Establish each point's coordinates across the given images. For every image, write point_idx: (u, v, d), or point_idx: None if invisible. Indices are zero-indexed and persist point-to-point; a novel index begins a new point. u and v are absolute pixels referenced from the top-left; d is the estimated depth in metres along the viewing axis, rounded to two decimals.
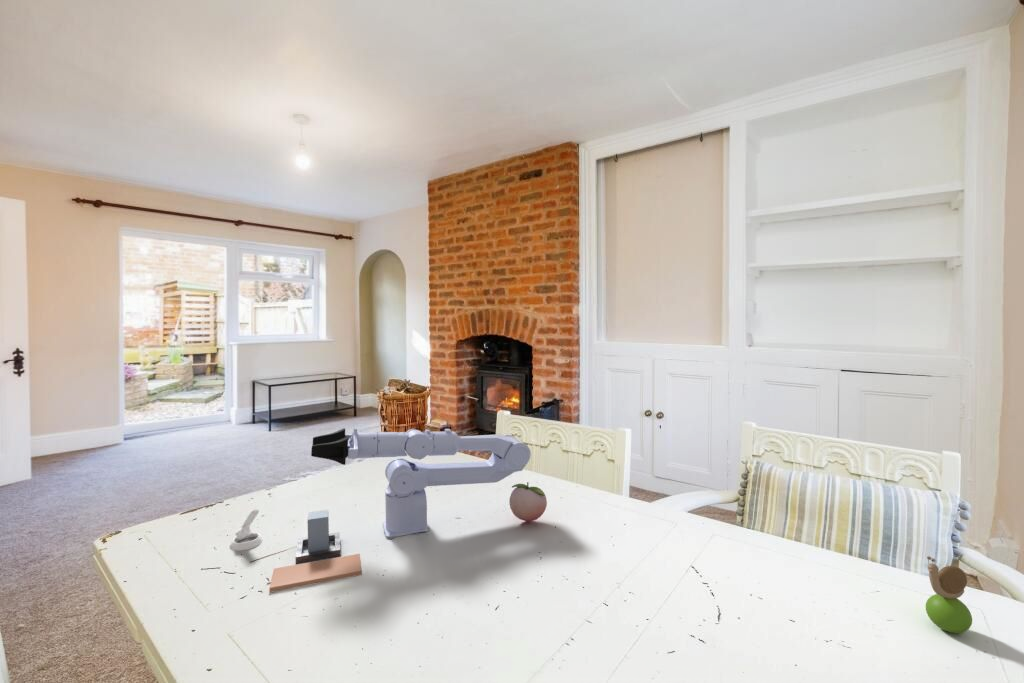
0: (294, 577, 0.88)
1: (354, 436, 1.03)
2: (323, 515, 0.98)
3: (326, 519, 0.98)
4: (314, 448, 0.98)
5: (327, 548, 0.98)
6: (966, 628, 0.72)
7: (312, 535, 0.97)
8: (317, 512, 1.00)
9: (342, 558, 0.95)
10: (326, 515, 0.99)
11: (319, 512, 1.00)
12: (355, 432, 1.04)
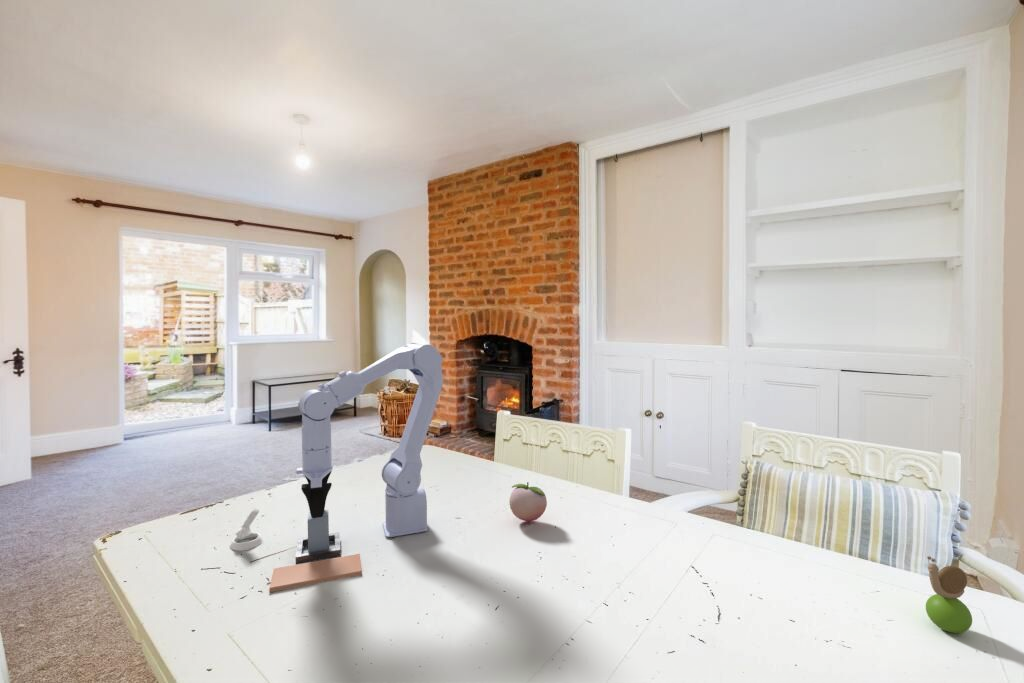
0: (294, 577, 0.88)
1: (303, 474, 0.96)
2: (323, 515, 0.98)
3: (326, 519, 0.98)
4: (313, 515, 0.95)
5: (327, 548, 0.98)
6: (966, 628, 0.72)
7: (312, 535, 0.97)
8: None
9: (342, 558, 0.95)
10: (326, 515, 0.99)
11: None
12: (300, 472, 0.96)
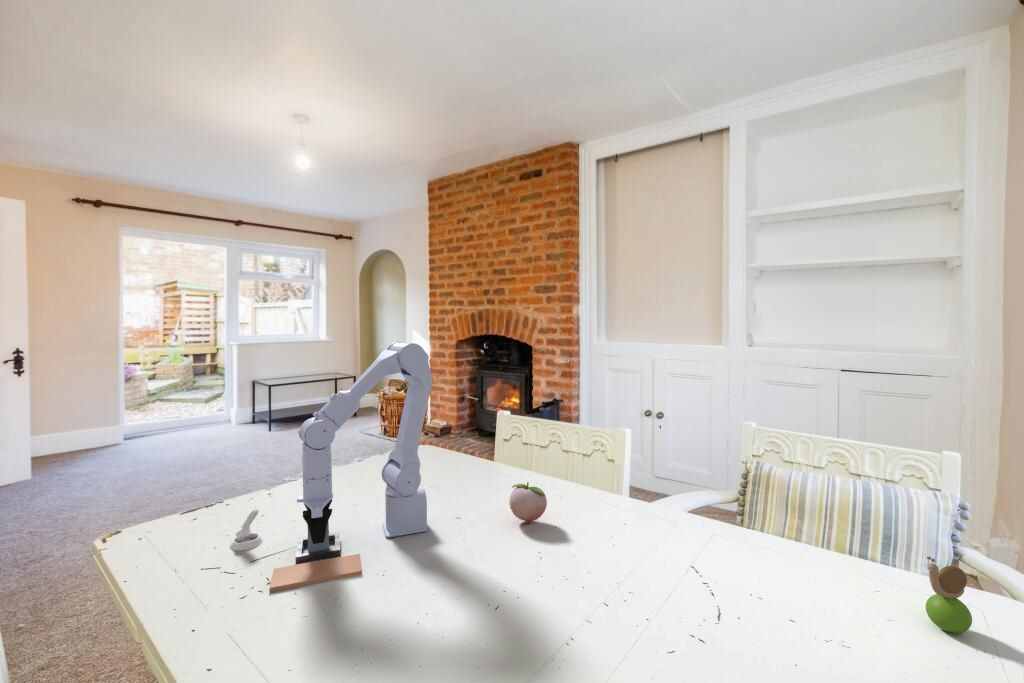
0: (294, 577, 0.88)
1: (304, 503, 0.96)
2: None
3: None
4: (315, 541, 0.97)
5: (327, 548, 0.98)
6: (966, 628, 0.72)
7: None
8: None
9: (342, 558, 0.95)
10: None
11: None
12: (301, 500, 0.97)
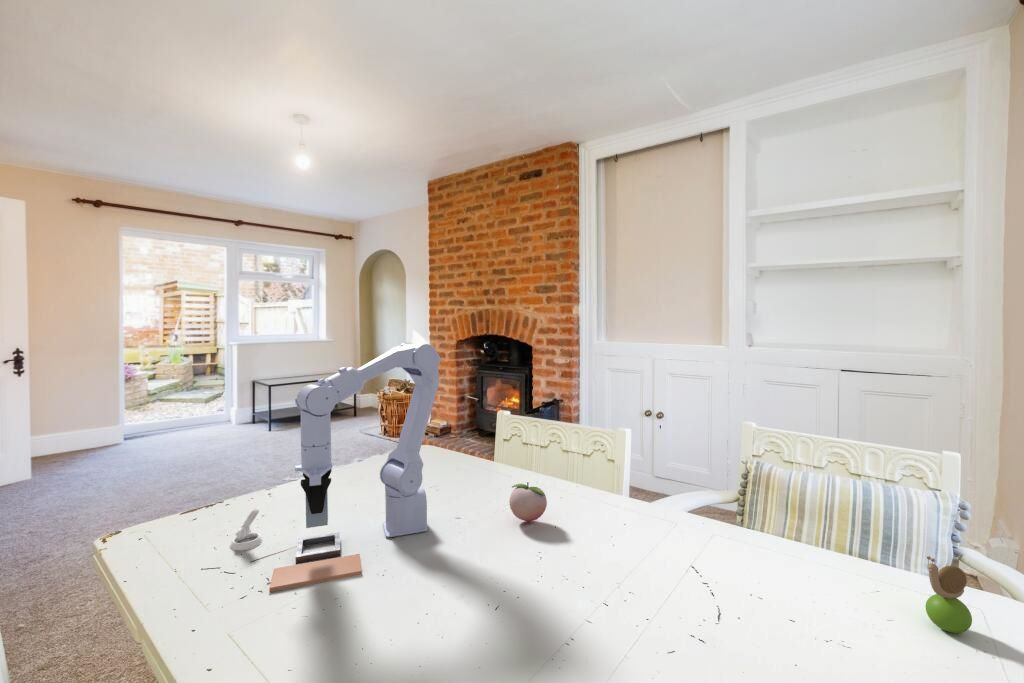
0: (294, 577, 0.88)
1: (302, 471, 0.93)
2: None
3: None
4: (313, 511, 0.93)
5: (326, 519, 0.95)
6: (966, 628, 0.72)
7: None
8: None
9: (342, 558, 0.95)
10: None
11: None
12: (299, 469, 0.94)
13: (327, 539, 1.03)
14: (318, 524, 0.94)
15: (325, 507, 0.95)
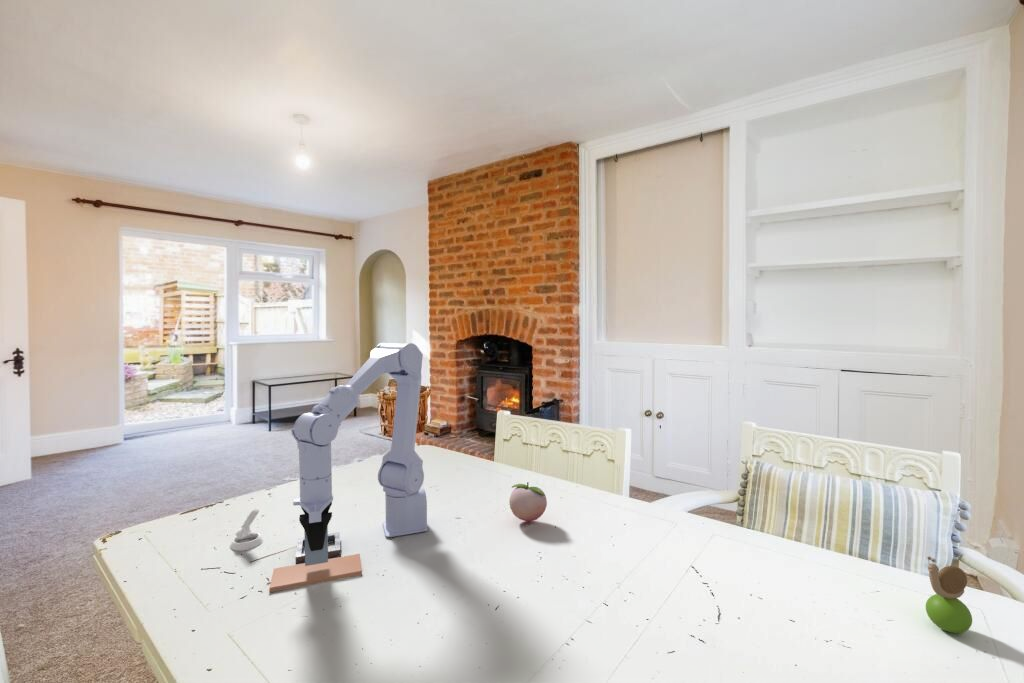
0: (294, 577, 0.88)
1: (301, 506, 0.87)
2: None
3: None
4: (313, 548, 0.88)
5: (326, 556, 0.89)
6: (966, 628, 0.72)
7: None
8: None
9: (342, 558, 0.95)
10: None
11: None
12: (297, 503, 0.88)
13: None
14: (318, 561, 0.89)
15: (325, 543, 0.89)
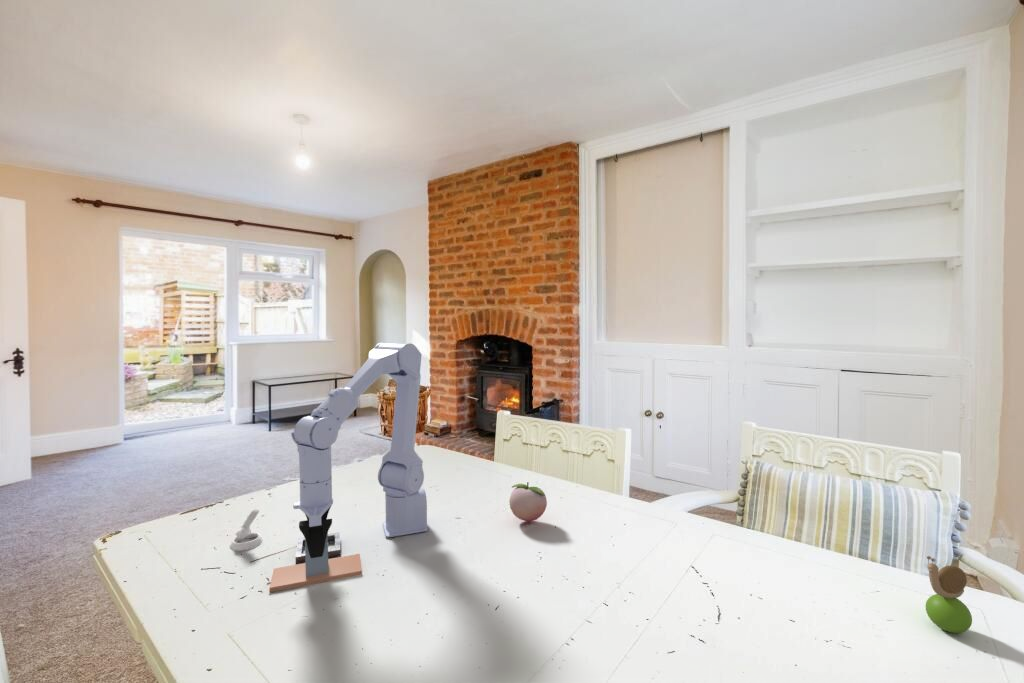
0: (294, 577, 0.88)
1: (301, 509, 0.87)
2: None
3: None
4: (312, 555, 0.86)
5: (326, 566, 0.89)
6: (966, 628, 0.72)
7: None
8: None
9: (342, 558, 0.95)
10: None
11: None
12: (297, 507, 0.88)
13: None
14: (318, 572, 0.89)
15: (326, 554, 0.89)
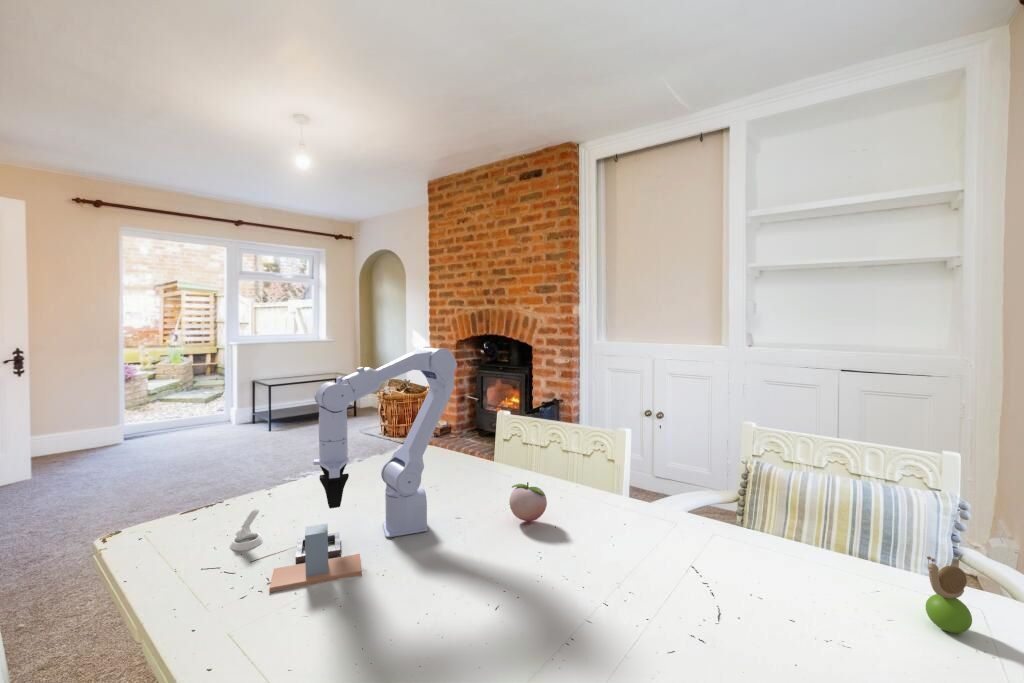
0: (294, 577, 0.88)
1: (321, 465, 0.97)
2: (322, 530, 0.90)
3: (325, 535, 0.89)
4: (331, 505, 0.96)
5: (326, 566, 0.89)
6: (966, 628, 0.72)
7: (310, 552, 0.88)
8: (316, 527, 0.91)
9: (342, 558, 0.95)
10: (325, 530, 0.90)
11: (317, 527, 0.91)
12: (317, 463, 0.98)
13: None
14: (318, 572, 0.89)
15: (326, 554, 0.89)
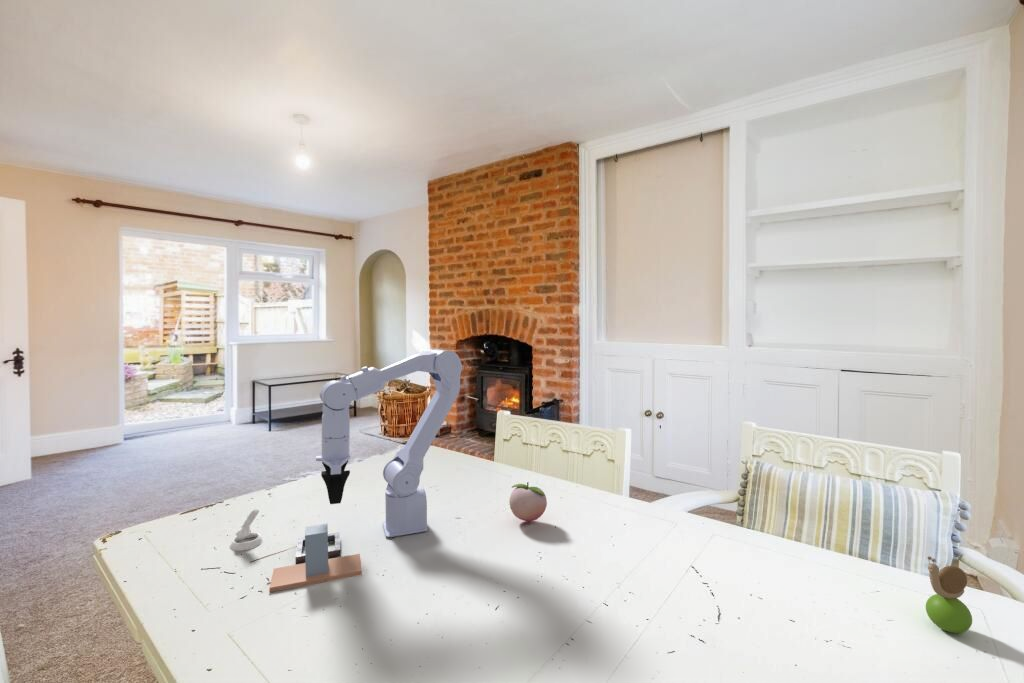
0: (294, 577, 0.88)
1: (323, 461, 0.99)
2: (322, 530, 0.90)
3: (325, 535, 0.89)
4: (332, 501, 0.98)
5: (326, 566, 0.89)
6: (966, 628, 0.72)
7: (310, 552, 0.88)
8: (316, 527, 0.91)
9: (342, 558, 0.95)
10: (325, 530, 0.90)
11: (317, 527, 0.91)
12: (319, 459, 1.00)
13: None
14: (318, 572, 0.89)
15: (326, 554, 0.89)
